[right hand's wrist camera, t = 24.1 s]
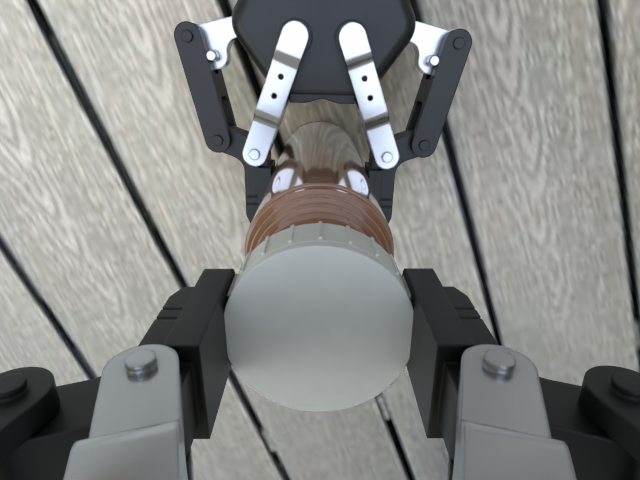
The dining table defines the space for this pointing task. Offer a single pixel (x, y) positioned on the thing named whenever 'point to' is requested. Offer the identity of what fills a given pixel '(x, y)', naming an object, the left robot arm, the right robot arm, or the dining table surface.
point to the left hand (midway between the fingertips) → (319, 229)
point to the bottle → (319, 188)
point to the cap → (319, 318)
